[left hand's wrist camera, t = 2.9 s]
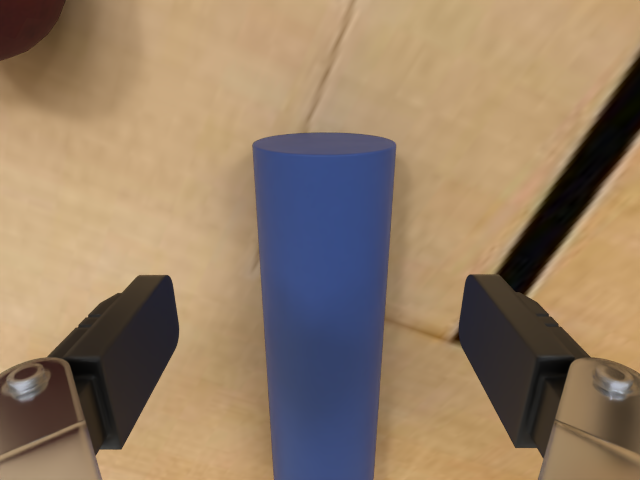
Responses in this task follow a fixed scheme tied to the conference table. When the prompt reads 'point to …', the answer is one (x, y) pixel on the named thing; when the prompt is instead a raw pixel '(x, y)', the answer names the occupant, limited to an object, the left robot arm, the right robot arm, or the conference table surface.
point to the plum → (25, 24)
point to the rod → (324, 296)
